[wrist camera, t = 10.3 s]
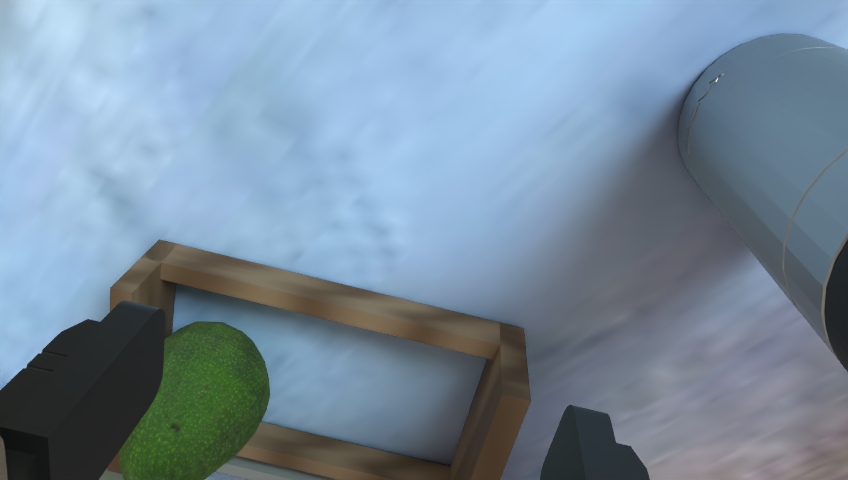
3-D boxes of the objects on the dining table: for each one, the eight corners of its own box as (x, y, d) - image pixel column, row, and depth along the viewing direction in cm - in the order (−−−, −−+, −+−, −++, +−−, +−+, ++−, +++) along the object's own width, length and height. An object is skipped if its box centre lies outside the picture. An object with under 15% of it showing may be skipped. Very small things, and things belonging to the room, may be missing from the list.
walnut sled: (523, 328, 42) (530, 401, 35) (467, 483, 48) (464, 568, 42) (159, 239, 41) (100, 297, 35) (150, 408, 47) (99, 482, 41)
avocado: (175, 385, 46) (82, 525, 36) (169, 290, 43) (64, 414, 32) (286, 402, 46) (226, 548, 36) (289, 308, 43) (224, 438, 32)
